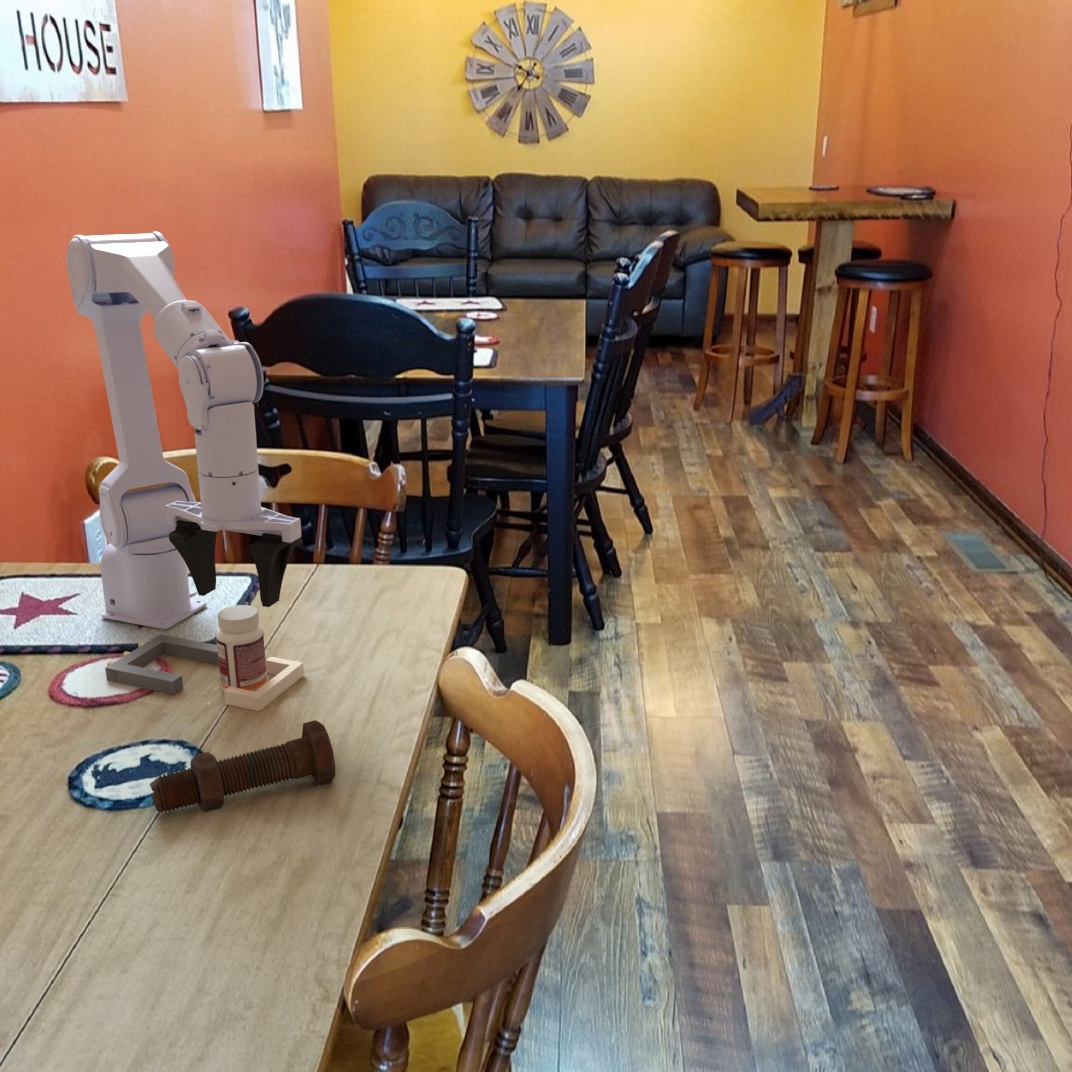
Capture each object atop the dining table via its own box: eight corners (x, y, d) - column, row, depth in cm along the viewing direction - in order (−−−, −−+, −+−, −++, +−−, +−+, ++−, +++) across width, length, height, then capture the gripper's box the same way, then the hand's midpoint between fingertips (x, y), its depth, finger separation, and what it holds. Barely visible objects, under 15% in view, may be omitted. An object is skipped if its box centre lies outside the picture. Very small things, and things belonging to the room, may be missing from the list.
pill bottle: (274, 677, 119) (268, 604, 116) (257, 698, 115) (251, 623, 112) (231, 673, 120) (225, 601, 117) (213, 694, 115) (206, 619, 113)
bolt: (157, 830, 96) (328, 783, 103) (162, 832, 92) (340, 783, 98) (143, 762, 97) (314, 720, 103) (148, 761, 92) (326, 717, 99)
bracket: (225, 704, 113) (223, 690, 113) (271, 669, 121) (270, 656, 120) (259, 711, 112) (258, 697, 112) (303, 675, 120) (303, 662, 119)
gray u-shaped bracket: (97, 678, 118) (95, 665, 118) (152, 644, 126) (151, 632, 126) (174, 694, 115) (172, 681, 115) (225, 658, 123) (224, 646, 123)
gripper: (140, 471, 108) (154, 601, 113) (269, 489, 104) (278, 623, 108) (185, 453, 114) (197, 577, 119) (309, 469, 110) (316, 597, 114)
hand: (238, 597), depth 114 cm, fingers open, 7 cm apart
